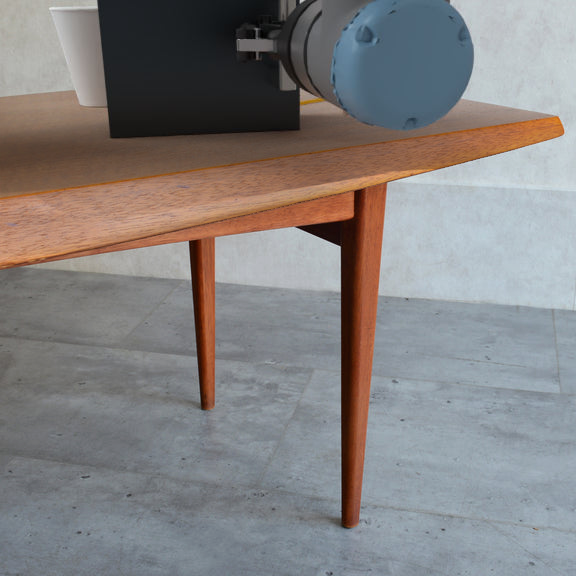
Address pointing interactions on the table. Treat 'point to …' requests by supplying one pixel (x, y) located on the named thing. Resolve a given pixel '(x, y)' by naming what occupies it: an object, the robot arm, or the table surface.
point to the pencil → (311, 101)
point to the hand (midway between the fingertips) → (276, 33)
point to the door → (191, 69)
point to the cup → (82, 51)
